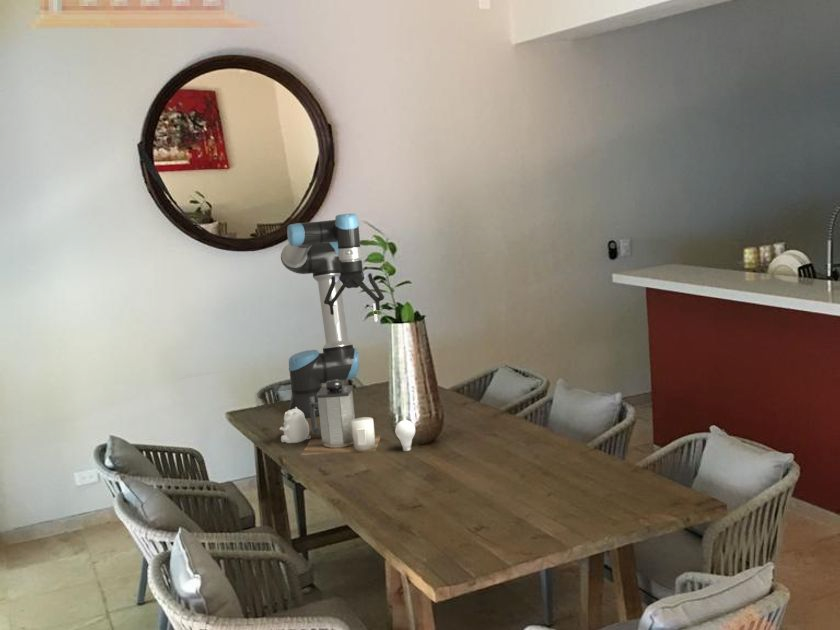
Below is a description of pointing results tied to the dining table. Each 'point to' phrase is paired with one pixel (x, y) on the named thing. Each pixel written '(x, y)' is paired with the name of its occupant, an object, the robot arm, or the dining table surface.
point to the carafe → (334, 416)
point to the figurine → (295, 427)
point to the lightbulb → (405, 433)
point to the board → (318, 448)
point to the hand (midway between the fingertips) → (356, 322)
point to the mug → (363, 433)
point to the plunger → (334, 385)
